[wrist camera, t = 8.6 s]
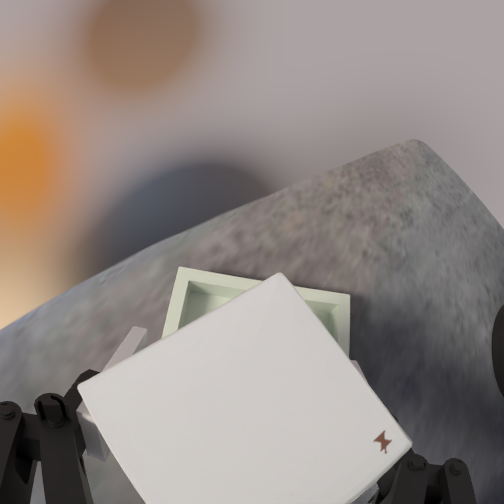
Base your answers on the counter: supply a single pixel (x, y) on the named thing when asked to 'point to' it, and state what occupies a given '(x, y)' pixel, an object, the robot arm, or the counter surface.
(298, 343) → the supplement box
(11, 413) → the robot arm
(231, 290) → the tray
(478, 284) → the counter surface
